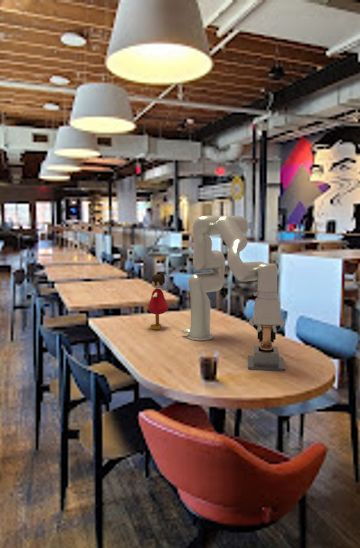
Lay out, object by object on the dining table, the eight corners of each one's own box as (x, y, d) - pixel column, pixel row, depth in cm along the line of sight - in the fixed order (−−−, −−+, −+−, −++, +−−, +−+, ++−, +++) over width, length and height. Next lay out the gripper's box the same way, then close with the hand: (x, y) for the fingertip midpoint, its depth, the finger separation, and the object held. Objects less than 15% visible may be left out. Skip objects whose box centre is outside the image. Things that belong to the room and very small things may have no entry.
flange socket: (247, 369, 162) (248, 354, 161) (247, 357, 175) (248, 343, 175) (285, 371, 159) (285, 355, 159) (282, 359, 173) (282, 345, 172)
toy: (150, 322, 237) (150, 269, 234) (170, 322, 237) (169, 269, 233) (145, 335, 211) (144, 275, 207) (167, 335, 211) (166, 275, 207)
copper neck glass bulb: (260, 350, 165) (260, 325, 163) (260, 347, 169) (260, 322, 168) (272, 351, 164) (273, 325, 163) (271, 347, 168) (272, 323, 167)
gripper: (245, 296, 162) (244, 343, 164) (290, 297, 159) (289, 344, 161) (245, 293, 169) (244, 338, 171) (288, 294, 166) (287, 339, 168)
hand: (266, 340), depth 166 cm, fingers closed on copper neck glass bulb, 4 cm apart
